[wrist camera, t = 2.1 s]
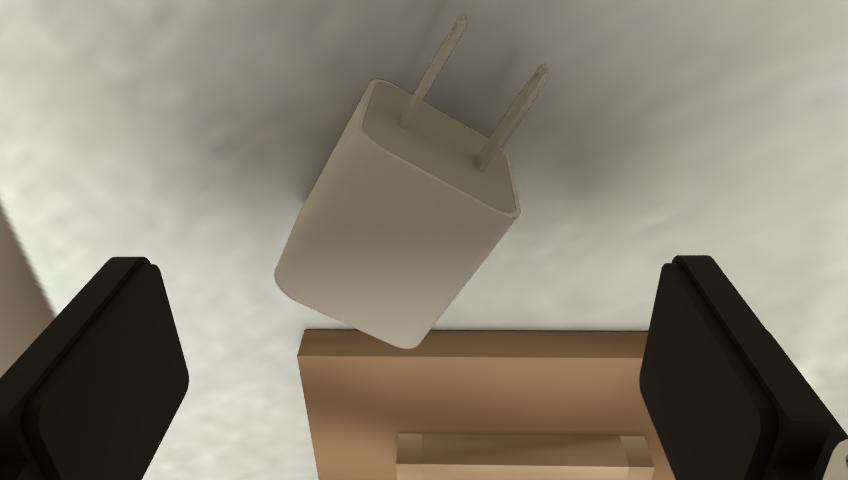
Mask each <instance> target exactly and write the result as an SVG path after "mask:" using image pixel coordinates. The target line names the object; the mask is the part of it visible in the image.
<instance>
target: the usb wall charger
mask: <svg viewBox="0 0 848 480" xmlns="http://www.w3.org/2000/svg"><path fill="white" fill-rule="evenodd" d="M466 25H467V21H466V15H465V14H461V15H460V16H459V18H458V20H457V21H456V23H455V25H454V26H453V28H452V30H451V31H450V33H449V35H448V36H447V38H446V40H445V41H444V43H443V44H442V46H441V48H440V49H439V51H438V53H437V55H436V56H435V58H434V60H433V61H432V63H431V65H430V66H429V68H428V70H427V72H426V73H425V75H424V77H423V78H422V80H421V82H420V83H419V85H418V87H417V89H416V90H415V92H414V94H413V95H411V94H410V93H408V92H406V91H404V90H403V89H401V88H399V87H397V86H396V85H394V84H392V83H390V82H387V81H384V80H380V79H373V80H372V81H371V82H370V84H369V86H368V87H367V89H366V91H365V93H364V95H363V97H362V98H361V100H360V102H359V104H358V106H357V108H356V110H355V111H354V113H353V115H352V117H351V119H350V121H349V122H348V124H347V126H346V128H345V130H344V132H343V134H342V135H341V137H340V139H339V141H338V143H337V145H336V146H335V148H334V150H333V152H332V154H331V156H330V158H329V159H328V161H327V163H326V165H325V167H324V169H323V170H322V172H321V174H320V176H319V178H318V180H317V182H316V183H315V185H314V187H313V189H312V191H311V193H310V194H309V196H308V198H307V200H306V202H305V204H304V206H303V207H302V209H301V211H300V213H299V215H298V217H297V219H296V221H295V224H294V226H293V229H292V231H291V233H290V236H289V238H288V241H287V243H286V245H285V248H284V250H283V253H282V255H281V257H280V260H279V262H278V265H277V267H276V269H275V274H274V275H275V280H276V283H277V285H278V286H279V288H280V289H281V290H282V292H283V293H284V294H286V295H287V296H288V297H289V298H291V299H292V300H294V301H296V302H298V303H300V304H303V305H305V306H307V307H309V308H311V309H314V310H316V311H318V312H320V313H323V314H325V315H327V316H329V317H331V318H334V319H336V320H338V321H340V322H342V323H345V324H347V325H349V326H351V327H354V328H356V329H358V330H360V331H362V332H365V333H367V334H369V335H371V336H373V337H376V338H378V339H380V340H382V341H385V342H387V343H389V344H391V345H393V346H396V347H399V348H403V349H411V348H414V347H416V346H418V345H419V344H420V342H421V341H422V340H423V338H424V337H425V336H426V335H427V333H428V332H429V331H430V329H431V328H432V327H433V326H434V324H435V323H436V322H437V320H438V319H439V318H440V316H441V315H442V314H443V313H444V311H445V310H446V309H447V307H448V306H449V305H450V304H451V302H452V301H453V300H454V298H455V297H456V296H457V295H458V293H459V292H460V291H461V289H462V288H463V287H464V286H465V284H466V283H467V282H468V280H469V279H470V278H471V277H472V275H473V274H474V273H475V271H476V270H477V269H478V268H479V266H480V265H481V264H482V262H483V261H484V260H485V258H486V257H487V256H488V255H489V253H490V252H491V251H492V249H493V248H494V247H495V246H496V244H497V243H498V242H499V240H500V239H501V238H502V237H503V235H504V234H505V233H506V231H507V230H508V229H509V228H510V226H511V225H512V224H513V222H514V221H515V220H516V219H517V217H518V216H519V215H520V212H521V211H520V206H519V201H518V196H517V191H516V186H515V182H514V177H513V172H512V167H511V163H510V159H509V157H508V156H507V154H506V153H505V152H504V151H503V150H502V149H501V147H502V146H503V144H504V143H505V141H506V140H507V138H508V137H509V136H510V134H511V133H512V131H513V130H514V129H515V127H516V126H517V124H518V123H519V121H520V120H521V119H522V117H523V116H524V114H525V113H526V112H527V110H528V109H529V107H530V106H531V104H532V103H533V101H534V100H535V98H536V97H537V95H538V94H539V92H540V91H541V89H542V88H543V86H544V85H545V83H546V82H547V80H548V79H549V77H550V73H549V71H548V69H547V67H546V65H545V64H542V65H540V66H539V68H538V69H537V71H536V72H535V73H534V75H533V76H532V77H531V79H530V80H529V82H528V83H527V84H526V86H525V87H524V89H523V90H522V91H521V93H520V94H519V96H518V97H517V98H516V100H515V101H514V103H513V104H512V106H511V107H510V109H509V110H508V111H507V113H506V114H505V116H504V117H503V119H502V120H501V122H500V123H499V125H498V126H497V127H496V129H495V130H494V132H493V133H492V135H491V136H490V138H489V139H488V138H486V137H485V136H483V135H481V134H479V133H478V132H476V131H474V130H472V129H471V128H469V127H467V126H465V125H464V124H462V123H460V122H459V121H457V120H455V119H453V118H452V117H450V116H448V115H446V114H445V113H443V112H441V111H439V110H438V109H436V108H434V107H432V106H431V105H429V104H427V103H425V102H424V101H422V100H423V99H424V97H425V95H426V94H427V92H428V90H429V89H430V87H431V85H432V84H433V82H434V80H435V79H436V77H437V75H438V74H439V72H440V70H441V69H442V67H443V65H444V64H445V62H446V60H447V58H448V57H449V55H450V53H451V52H452V50H453V48H454V46H455V45H456V43H457V41H458V40H459V38H460V36H461V35H462V33H463V31H464V29H465V28H466Z"/></svg>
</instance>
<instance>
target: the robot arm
mask: <svg viewBox="0 0 848 480" xmlns="http://www.w3.org/2000/svg"><path fill="white" fill-rule="evenodd" d="M188 385H189V374H188V370H187V366H186V362H185V359H184V355H183V352H182V348H181V344H180V341H179V337H178V333H177V330H176V326H175V323H174V319H173V315H172V312H171V308H170V305H169V301H168V297H167V294H166V290H165V286H164V283H163V279H162V276H161V272H160V269H159V268H158V266H157V265H155V264H151V263H150V261H149V260H148V259H147V258H145V257H112V258H111V259H109V260H108V261H107V262H106V263H105V264H104V266H103V267H102V268H101V269H100V270H99V271H98V272H97V273H96V274H95V275H94V276H93V278H92V279H91V280H90V281H89V282H88V283H87V284H86V285H85V286H84V287H83V288H82V290H81V291H80V292H79V293H78V294H77V295H76V296H75V297H74V298H73V299H72V300H71V302H70V303H69V304H68V305H67V306H66V307H65V308H64V309H63V310H62V311H61V312H60V314H59V315H58V316H57V317H56V318H55V319H54V320H53V321H52V322H51V323H50V325H49V326H48V327H47V328H46V329H45V330H44V331H43V332H42V333H41V334H40V336H39V337H38V338H37V339H36V340H35V341H34V342H33V343H32V344H31V345H30V346H29V347H28V349H27V350H26V351H25V352H24V353H23V354H22V355H21V356H20V357H19V358H18V359H17V361H16V362H15V363H14V364H13V365H12V366H11V367H10V368H9V369H8V370H7V372H6V373H5V374H4V375H3V376H2V377H1V378H0V480H142V478H143V476H144V474H145V472H146V470H147V468H148V466H149V465H150V463H151V461H152V459H153V457H154V455H155V453H156V451H157V449H158V447H159V445H160V443H161V441H162V439H163V437H164V435H165V433H166V431H167V429H168V428H169V426H170V424H171V422H172V420H173V418H174V416H175V414H176V412H177V410H178V408H179V406H180V404H181V402H182V400H183V398H184V396H185V394H186V392H187V389H188ZM639 386H640V392H641V395H642V398H643V400H644V403H645V405H646V408H647V410H648V413H649V415H650V418H651V420H652V422H653V425H654V427H655V430H656V432H657V435H658V437H659V440H660V442H661V445H662V447H663V450H664V452H665V455H666V457H667V460H668V462H669V465H670V467H671V470H672V472H673V475H674V477H675V480H848V435H847V434H846V433H845V431H844V430H843V429H842V427H841V426H840V425H839V423H838V422H837V421H836V419H835V418H834V417H833V415H832V414H831V413H830V411H829V410H828V409H827V407H826V406H825V405H824V403H823V402H822V401H821V400H820V398H819V397H818V396H817V394H816V393H815V392H814V390H813V389H812V388H811V386H810V385H809V384H808V382H807V381H806V380H805V378H804V377H803V376H802V374H801V373H800V372H799V370H798V369H797V368H796V366H795V365H794V364H793V362H792V361H791V360H790V358H789V357H788V356H787V355H786V353H785V352H784V351H783V349H782V348H781V347H780V345H779V344H778V343H777V341H776V340H775V339H774V337H773V336H772V335H771V334H770V333H769V332H768V331H767V330H766V329H765V327H764V326H763V325H762V323H761V322H760V321H759V319H758V318H757V317H756V315H755V314H754V313H753V311H752V310H751V309H750V307H749V306H748V305H747V303H746V302H745V301H744V299H743V298H742V297H741V295H740V294H739V293H738V291H737V290H736V289H735V287H734V286H733V285H732V283H731V282H730V281H729V279H728V278H727V277H726V275H725V274H724V273H723V271H722V270H721V269H720V267H719V266H718V265H717V263H716V262H715V261H714V259H713V258H712V257H711V256H707V255H677V256H676V257H674V259H673V260H672V263H666V264H664V265H663V267H662V270H661V274H660V279H659V284H658V289H657V293H656V298H655V303H654V308H653V312H652V317H651V322H650V327H649V332H648V336H647V341H646V346H645V351H644V356H643V360H642V365H641V370H640V376H639Z"/></svg>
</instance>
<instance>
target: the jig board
mask: <svg viewBox="0 0 848 480" xmlns="http://www.w3.org/2000/svg"><path fill="white" fill-rule="evenodd" d="M647 336H648V332H594V331H429V332H428V333H427V335H426V336H425V337H424V338H423V340H422V341H421V342H420V344H419V345H418V346H416V347H414V348H411V349H403V348H399V347H396V346H393V345H391V344H389V343H387V342H385V341H382V340H380V339H378V338H376V337H373V336H371V335H369V334H367V333H365V332H362V331H360V330H305V331H304V335H303V338H302V341H301V345H300V348H299V352H298V355H297V358H298V363H299V369H300V375H301V381H302V386H303V392H304V398H305V403H306V409H307V415H308V420H309V426H310V432H311V437H312V443H313V449H314V455H315V460H316V466H317V472H318V477H319V480H675V477H674V475H673V472H672V470H671V467H670V465H669V462H668V460H667V457H666V455H665V452H664V450H663V447H662V445H661V442H660V440H659V437H658V435H657V432H656V430H655V427H654V425H653V422H652V420H651V418H650V415H649V413H648V410H647V408H646V405H645V403H644V400H643V398H642V395H641V392H640V386H639V376H640V370H641V365H642V360H643V356H644V351H645V346H646V341H647Z"/></svg>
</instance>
